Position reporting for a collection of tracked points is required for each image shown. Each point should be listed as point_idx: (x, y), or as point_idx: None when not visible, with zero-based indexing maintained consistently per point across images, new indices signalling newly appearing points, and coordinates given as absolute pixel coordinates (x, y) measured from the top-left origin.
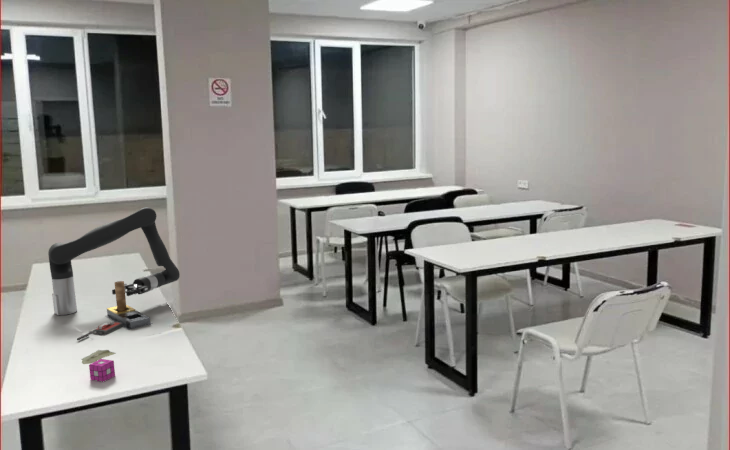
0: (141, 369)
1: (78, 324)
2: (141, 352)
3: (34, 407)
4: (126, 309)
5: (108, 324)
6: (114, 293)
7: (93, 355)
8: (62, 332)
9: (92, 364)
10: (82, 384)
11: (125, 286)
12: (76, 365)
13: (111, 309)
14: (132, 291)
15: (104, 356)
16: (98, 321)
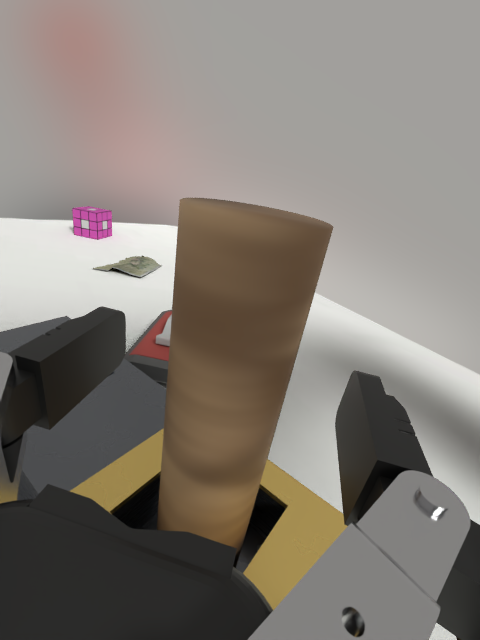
0: (26, 235)
1: None
2: (24, 263)
3: (155, 225)
4: (157, 522)
5: None
6: (340, 420)
7: (142, 267)
8: (354, 368)
9: (105, 210)
10: (119, 233)
11: (315, 571)
12: (158, 256)
13: (306, 505)
14: (38, 340)
15: (115, 263)
16: (335, 486)
